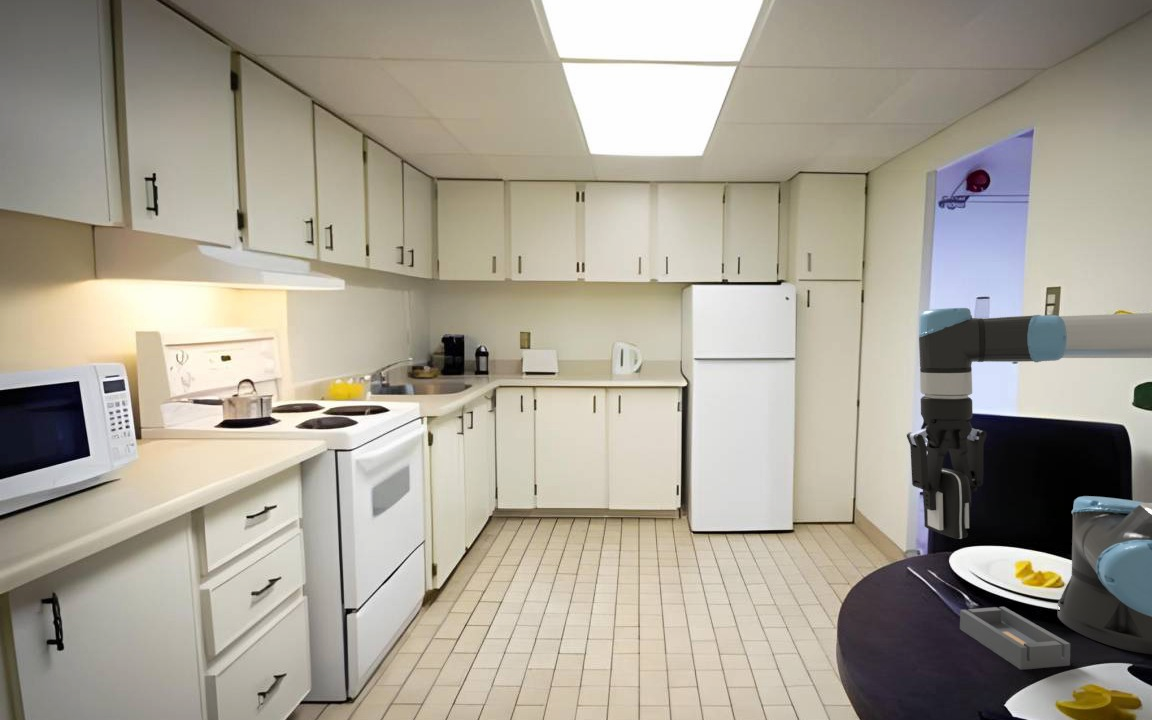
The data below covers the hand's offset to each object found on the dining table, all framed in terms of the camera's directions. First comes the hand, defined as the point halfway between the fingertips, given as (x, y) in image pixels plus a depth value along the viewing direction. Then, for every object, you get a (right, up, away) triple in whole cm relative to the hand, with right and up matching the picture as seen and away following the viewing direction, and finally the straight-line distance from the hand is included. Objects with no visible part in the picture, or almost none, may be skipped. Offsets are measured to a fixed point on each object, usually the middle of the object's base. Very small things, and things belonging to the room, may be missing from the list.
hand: (948, 526), depth 94 cm
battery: (0, -1, 0) cm, 1 cm away
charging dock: (+7, -18, -6) cm, 20 cm away
